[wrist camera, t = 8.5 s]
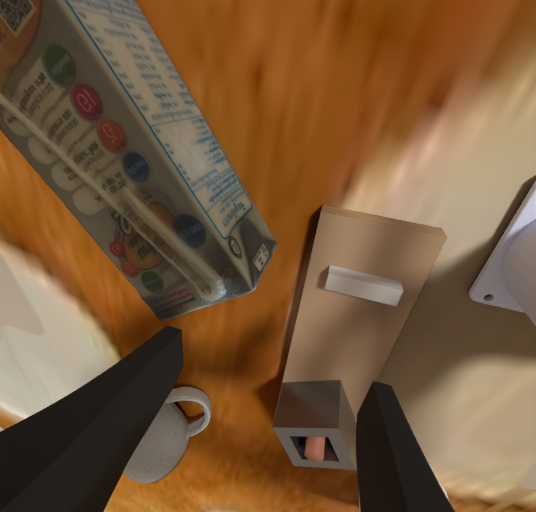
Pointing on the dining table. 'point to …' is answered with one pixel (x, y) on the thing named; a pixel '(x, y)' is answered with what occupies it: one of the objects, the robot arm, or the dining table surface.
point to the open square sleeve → (316, 423)
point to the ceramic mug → (167, 438)
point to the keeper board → (357, 300)
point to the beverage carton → (128, 151)
